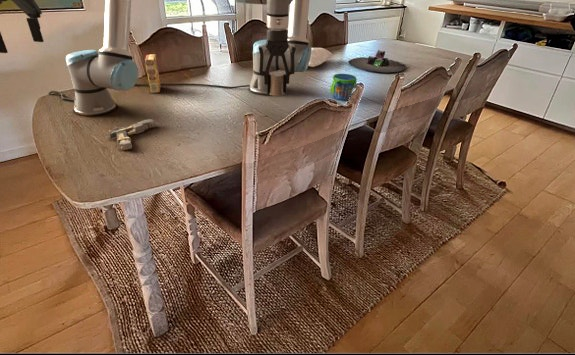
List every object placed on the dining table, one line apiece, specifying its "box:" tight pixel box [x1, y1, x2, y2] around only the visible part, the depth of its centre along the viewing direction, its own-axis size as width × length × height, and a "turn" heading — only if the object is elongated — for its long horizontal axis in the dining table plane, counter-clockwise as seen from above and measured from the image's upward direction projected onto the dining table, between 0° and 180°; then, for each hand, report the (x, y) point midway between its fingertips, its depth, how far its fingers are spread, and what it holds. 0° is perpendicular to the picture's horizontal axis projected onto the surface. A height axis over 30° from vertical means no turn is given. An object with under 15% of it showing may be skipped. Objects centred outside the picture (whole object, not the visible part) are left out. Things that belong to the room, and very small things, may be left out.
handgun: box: [108, 118, 157, 151], centre depth 130 cm, size 3×18×15 cm
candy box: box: [144, 54, 162, 94], centre depth 168 cm, size 9×4×15 cm, turn 13°
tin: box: [269, 70, 285, 97], centre depth 138 cm, size 6×6×8 cm
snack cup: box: [329, 73, 358, 101], centre depth 169 cm, size 16×10×10 cm
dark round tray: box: [347, 49, 407, 74], centre depth 221 cm, size 35×35×9 cm
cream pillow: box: [308, 47, 333, 68], centre depth 217 cm, size 24×35×9 cm
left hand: (21, 46), depth 103 cm, fingers open, 13 cm apart
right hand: (276, 91), depth 140 cm, fingers closed on tin, 6 cm apart
